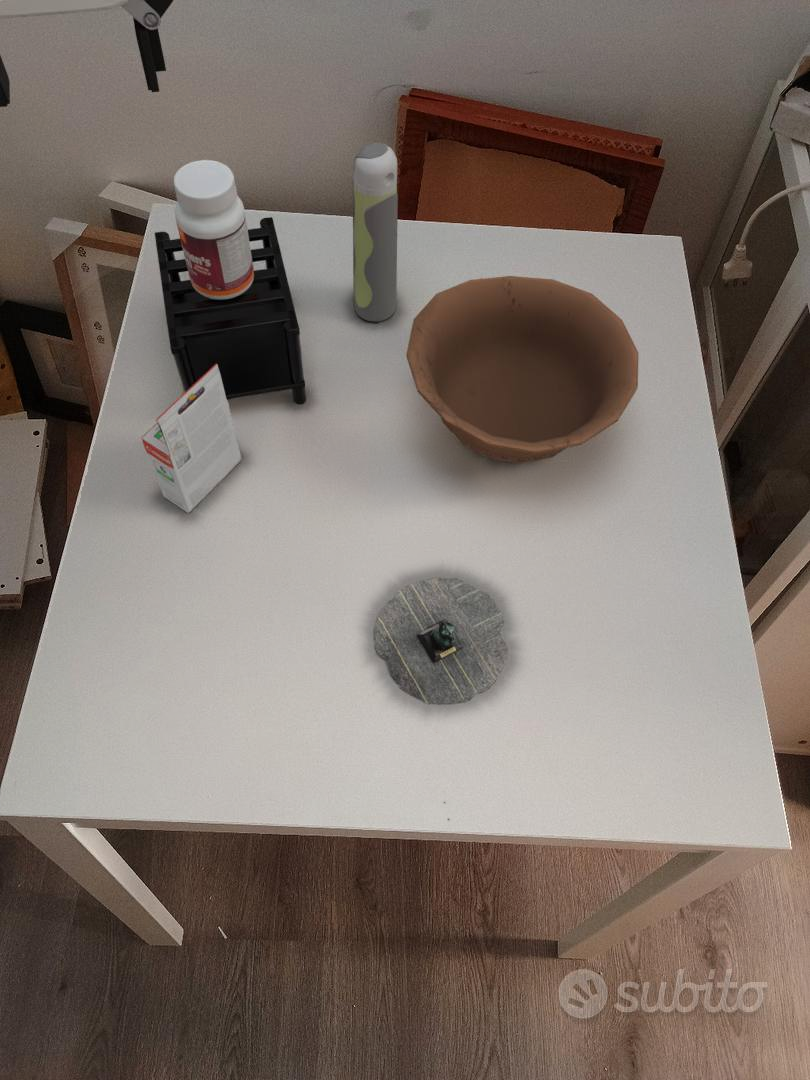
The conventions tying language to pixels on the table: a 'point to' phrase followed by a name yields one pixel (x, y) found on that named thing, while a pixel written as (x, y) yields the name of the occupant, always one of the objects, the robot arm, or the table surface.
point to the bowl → (522, 365)
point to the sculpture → (441, 640)
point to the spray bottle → (375, 232)
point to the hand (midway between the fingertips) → (79, 87)
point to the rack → (235, 324)
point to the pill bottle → (213, 230)
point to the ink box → (193, 443)
